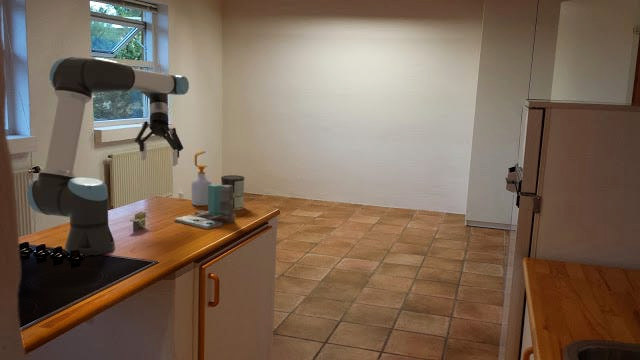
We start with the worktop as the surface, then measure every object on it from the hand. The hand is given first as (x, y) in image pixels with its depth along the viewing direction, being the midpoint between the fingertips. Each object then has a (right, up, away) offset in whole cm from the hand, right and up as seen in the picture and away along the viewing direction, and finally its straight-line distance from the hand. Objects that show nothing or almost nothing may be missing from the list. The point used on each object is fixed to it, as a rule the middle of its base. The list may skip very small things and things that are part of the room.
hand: (159, 162), depth 229 cm
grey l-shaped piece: (+19, -24, +1) cm, 31 cm away
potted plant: (-3, -27, -14) cm, 30 cm away
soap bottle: (+10, -19, +33) cm, 39 cm away
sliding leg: (+19, -22, +1) cm, 29 cm away
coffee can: (+25, -20, +27) cm, 42 cm away
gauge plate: (+16, -25, -3) cm, 30 cm away
